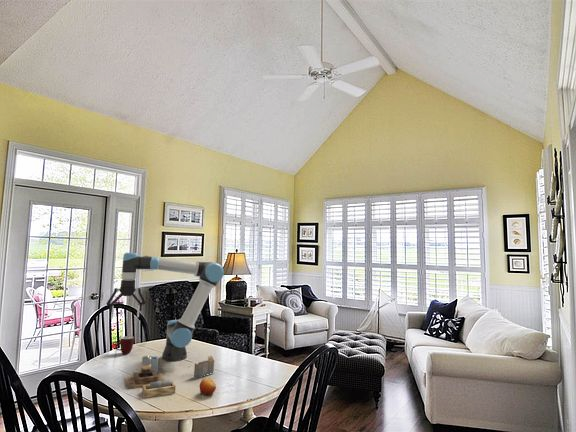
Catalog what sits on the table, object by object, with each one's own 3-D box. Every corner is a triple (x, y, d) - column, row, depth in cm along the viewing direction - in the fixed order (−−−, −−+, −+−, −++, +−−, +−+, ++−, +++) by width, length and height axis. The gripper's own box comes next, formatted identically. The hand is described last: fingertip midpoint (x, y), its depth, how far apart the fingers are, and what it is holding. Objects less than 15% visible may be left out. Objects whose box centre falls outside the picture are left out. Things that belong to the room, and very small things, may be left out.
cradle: (160, 374, 193) (161, 368, 194) (165, 383, 181) (166, 376, 182) (124, 379, 185) (125, 372, 185) (127, 389, 173) (127, 381, 173)
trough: (172, 387, 177) (172, 377, 177) (175, 393, 170) (175, 381, 171) (142, 392, 170) (143, 380, 170) (144, 397, 164) (144, 386, 164)
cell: (149, 377, 186) (151, 354, 188) (150, 380, 182) (152, 356, 183) (139, 378, 184) (141, 355, 185) (140, 381, 180) (142, 357, 181)
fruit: (196, 387, 175) (206, 373, 176) (210, 396, 175) (219, 381, 176) (193, 393, 167) (203, 379, 168) (207, 403, 167) (217, 388, 168)
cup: (155, 368, 203) (156, 356, 203) (157, 372, 197) (158, 359, 198) (144, 370, 200) (145, 357, 200) (146, 373, 194) (147, 360, 195)
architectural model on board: (210, 372, 201) (211, 355, 202) (213, 374, 199) (214, 356, 200) (193, 377, 193) (194, 359, 194) (196, 379, 191) (198, 360, 192)
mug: (117, 356, 221) (118, 340, 222) (113, 353, 227) (114, 337, 228) (134, 354, 228) (136, 338, 229) (130, 351, 234) (131, 335, 235)
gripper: (150, 279, 213) (147, 315, 211) (103, 279, 201) (100, 317, 199) (152, 280, 207) (149, 317, 205) (104, 280, 195) (100, 319, 193)
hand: (125, 317), depth 202 cm, fingers open, 13 cm apart
